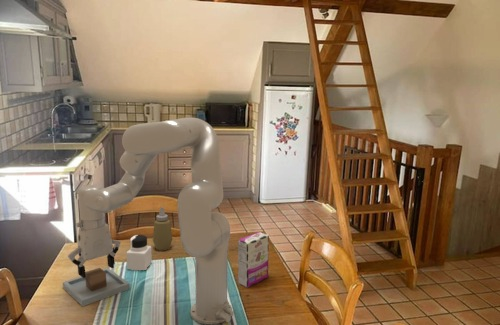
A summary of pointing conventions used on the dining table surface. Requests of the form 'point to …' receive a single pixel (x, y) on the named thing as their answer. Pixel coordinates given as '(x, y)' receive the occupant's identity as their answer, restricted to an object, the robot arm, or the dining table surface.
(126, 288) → the tray
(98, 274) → the cube
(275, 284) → the dining table surface
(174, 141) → the robot arm
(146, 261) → the medicine bottle
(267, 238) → the candy bar box
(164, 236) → the squeeze bottle
